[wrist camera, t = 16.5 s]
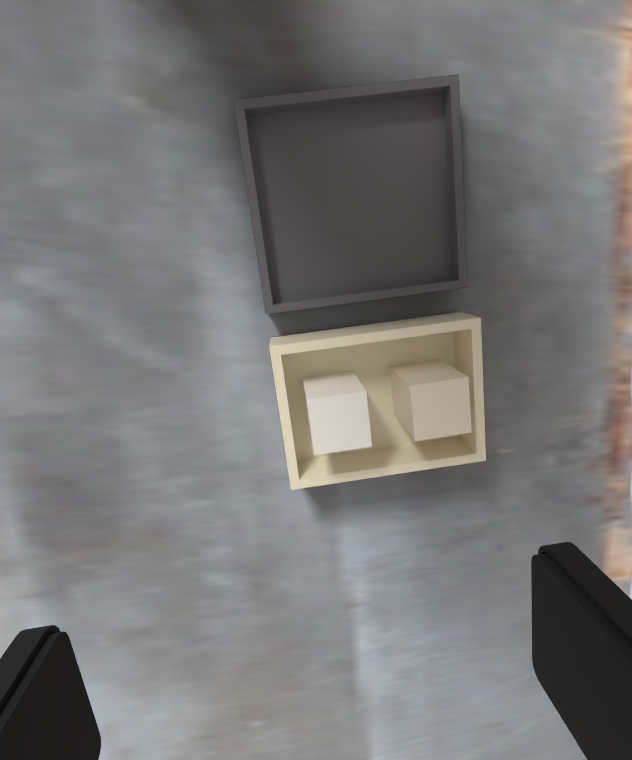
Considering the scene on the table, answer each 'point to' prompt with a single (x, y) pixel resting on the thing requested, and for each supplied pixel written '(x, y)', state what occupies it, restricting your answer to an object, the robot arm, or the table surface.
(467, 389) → the stone
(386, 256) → the pan
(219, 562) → the table surface
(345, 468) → the tub
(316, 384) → the stone
